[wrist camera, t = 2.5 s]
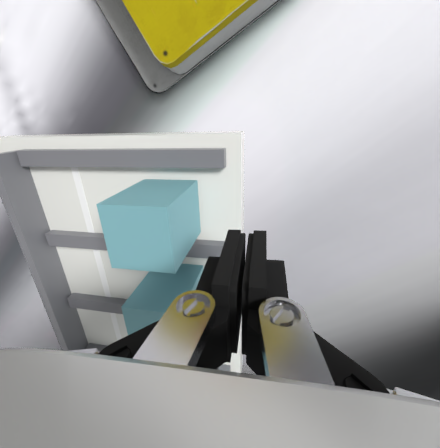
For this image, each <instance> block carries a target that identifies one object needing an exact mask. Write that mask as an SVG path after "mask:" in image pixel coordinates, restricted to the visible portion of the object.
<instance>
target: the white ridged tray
mask: <svg viewBox="0 0 440 448" xmlns="http://www.w3.org/2000/svg"><path fill="white" fill-rule="evenodd" d="M244 134H245V131H217V132H165V133H112V134H59V135H12V136H1V137H0V197H1V199H2V202H3V204H4V207H5V209H6V212H7V214H8V217H9V219H10V222H11V224H12V227H13V229H14V232H15V234H16V237H17V239H18V242H19V244H20V247H21V249H22V252H23V254H24V257H25V259H26V262H27V264H28V267H29V269H30V272H31V274H32V277H33V279H34V282H35V284H36V287H37V289H38V292H39V294H40V297H41V299H42V302H43V304H44V307H45V309H46V312H47V314H48V317H49V319H50V322H51V324H52V327H53V329H54V332H55V334H56V337H57V339H58V342H59V344H60V347H61V349H62V350H63V351H70V350H82V349H93V348H97V350H98V352H100V351H101V350H103V349H104V348H105V347H107V346H108V345H110V344H112V343H114V342H116V341H118V340H120V339H122V338H124V337H126V336H128V333H127V329H126V325H125V321H124V316H123V312H122V308H121V307H122V306H123V304H124V303H125V302H126V300H127V299H128V298H129V297H130V295H131V294H132V293H133V291H134V290H135V289H136V288H137V286H138V285H139V284H140V283H141V281H142V280H143V279H144V277H145V276H146V275H147V274H148V272H149V271H140V270H130V269H119V268H112V267H111V263H110V259H109V255H108V251H107V246H106V242H105V238H104V234H103V230H102V226H101V222H100V218H99V213H98V209H97V205H96V204H98V203H100V202H102V201H104V200H105V199H107V198H109V197H111V196H113V195H115V194H117V193H119V192H121V191H123V190H125V189H126V188H128V187H130V186H132V185H134V184H136V183H138V182H140V181H142V180H144V179H164V180H197V183H198V197H199V212H200V227H201V232H200V234H199V236H198V237H197V239H196V241H195V242H194V244H193V246H192V247H191V249H190V251H189V252H188V254H187V255H186V257H185V259H184V260H183V262H182V264H193V265H203V269H204V267H205V264H206V262H207V259H208V257H209V256H213V257H220V255H221V252H222V249H223V245H224V242H225V239H226V236H227V232H228V229H230V230H241V233H244ZM242 364H243V354H242V316H241V324H240V333H239V341H238V350H237V353H232V354H231V362H230V363H229V362H225V363H224V364H222V365H221V366H220V367H218V368H219V370H223V371H231V372H238V373H241V372H242Z"/></svg>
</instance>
